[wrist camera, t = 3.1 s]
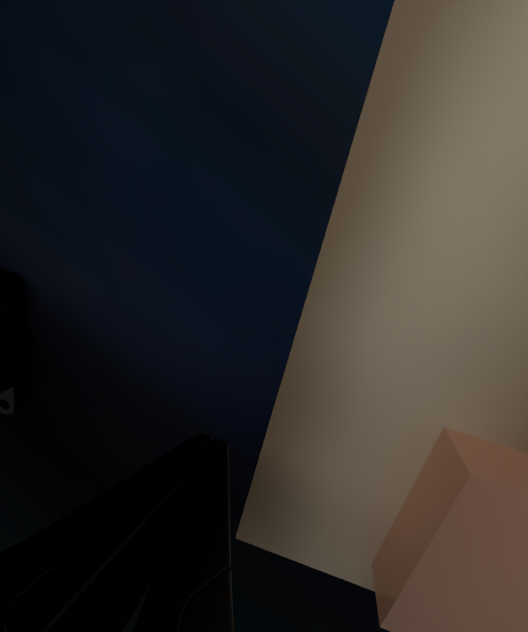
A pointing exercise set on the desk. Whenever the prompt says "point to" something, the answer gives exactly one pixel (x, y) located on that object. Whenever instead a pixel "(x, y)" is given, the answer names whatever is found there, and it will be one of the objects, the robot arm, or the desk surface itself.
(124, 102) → the desk surface
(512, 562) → the terracotta tile
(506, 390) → the birch plate
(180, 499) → the robot arm
